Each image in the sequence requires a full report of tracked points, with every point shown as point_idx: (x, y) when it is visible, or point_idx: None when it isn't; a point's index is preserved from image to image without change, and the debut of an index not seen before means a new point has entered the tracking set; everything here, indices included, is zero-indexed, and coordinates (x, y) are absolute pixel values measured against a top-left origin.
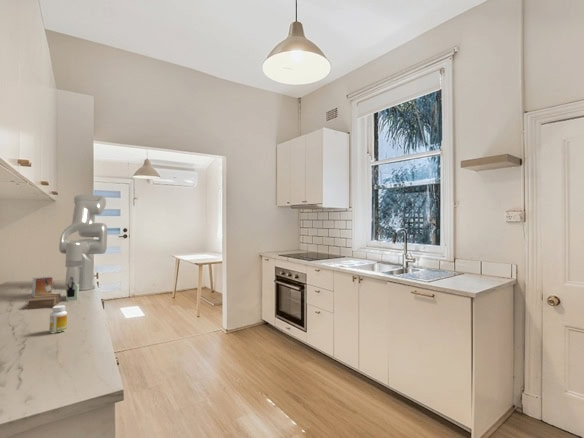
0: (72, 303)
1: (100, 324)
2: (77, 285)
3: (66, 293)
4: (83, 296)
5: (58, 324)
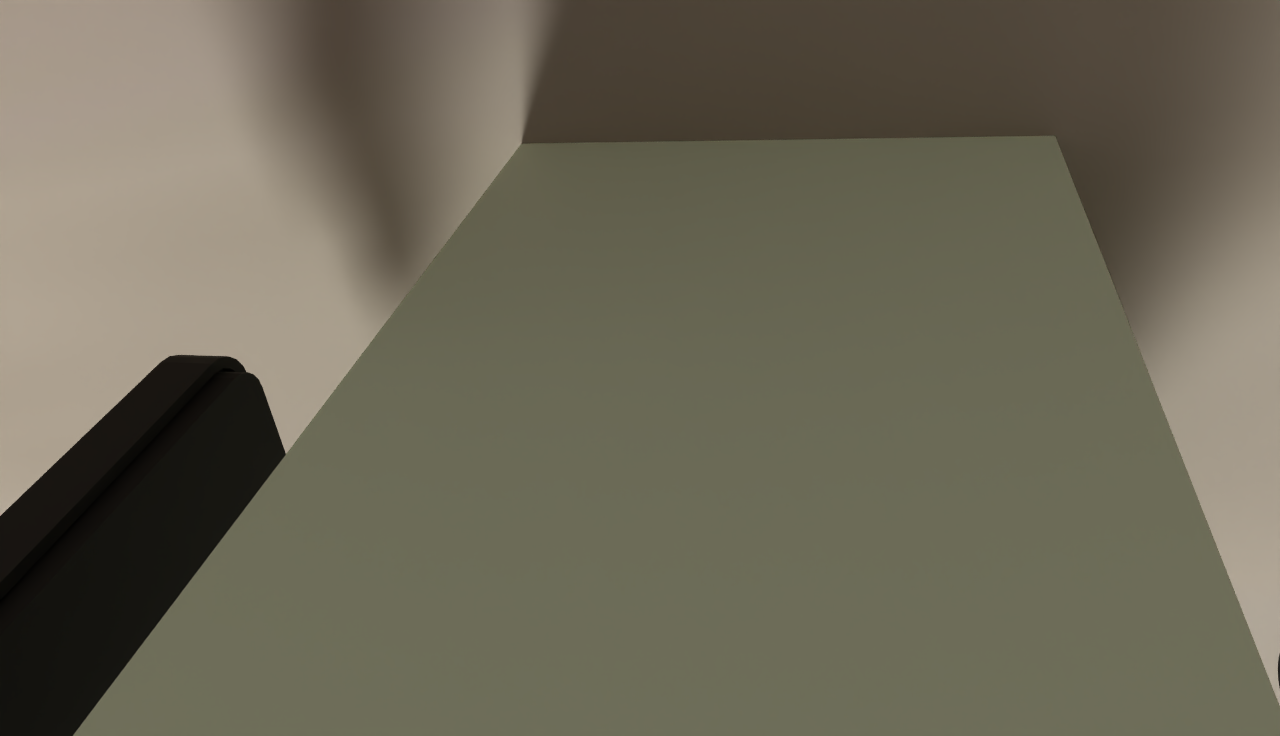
0: (5, 448)
1: None
2: None
3: (363, 368)
4: None
5: None
